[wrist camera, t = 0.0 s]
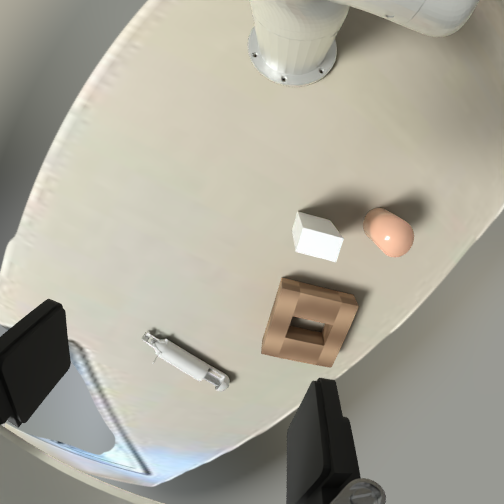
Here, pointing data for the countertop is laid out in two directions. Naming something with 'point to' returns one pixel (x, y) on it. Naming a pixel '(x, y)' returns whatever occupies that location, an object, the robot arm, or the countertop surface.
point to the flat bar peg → (316, 237)
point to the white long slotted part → (186, 362)
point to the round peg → (388, 232)
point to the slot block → (311, 308)
